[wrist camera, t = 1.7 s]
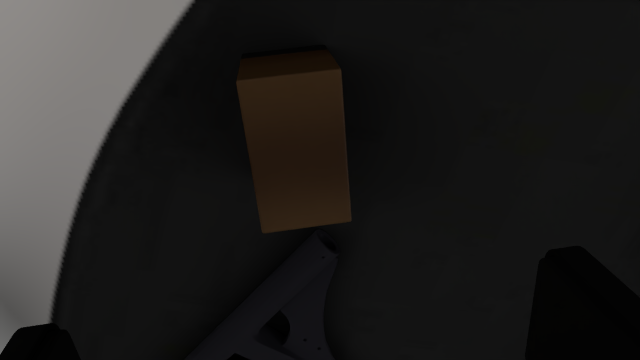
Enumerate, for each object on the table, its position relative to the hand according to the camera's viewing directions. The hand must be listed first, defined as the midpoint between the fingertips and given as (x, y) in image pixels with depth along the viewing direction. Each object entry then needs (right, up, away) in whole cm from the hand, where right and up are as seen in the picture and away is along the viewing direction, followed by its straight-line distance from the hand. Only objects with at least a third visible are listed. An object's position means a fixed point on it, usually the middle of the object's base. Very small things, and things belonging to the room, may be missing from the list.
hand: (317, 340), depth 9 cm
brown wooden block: (-1, +6, +11) cm, 13 cm away
